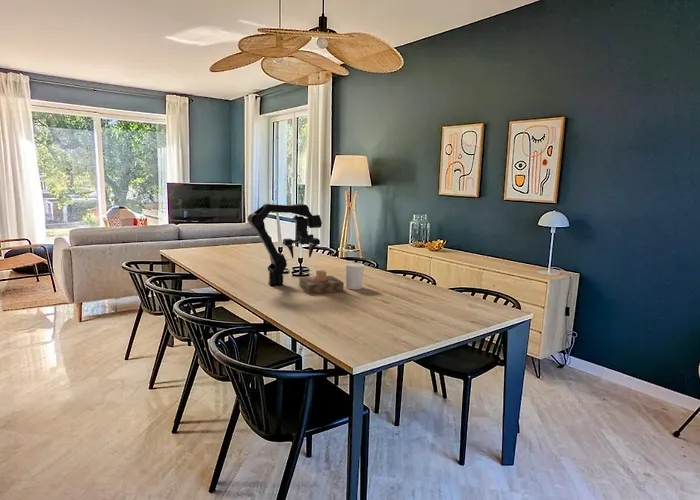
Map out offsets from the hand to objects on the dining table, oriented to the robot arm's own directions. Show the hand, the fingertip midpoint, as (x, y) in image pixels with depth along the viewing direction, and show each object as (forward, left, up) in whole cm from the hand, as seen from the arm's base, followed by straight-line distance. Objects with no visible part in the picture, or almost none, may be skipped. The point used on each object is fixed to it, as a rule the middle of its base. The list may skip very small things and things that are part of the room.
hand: (301, 257), depth 229 cm
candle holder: (+23, -18, -13) cm, 32 cm away
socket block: (+6, -16, -13) cm, 21 cm away
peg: (+6, -16, -13) cm, 21 cm away
